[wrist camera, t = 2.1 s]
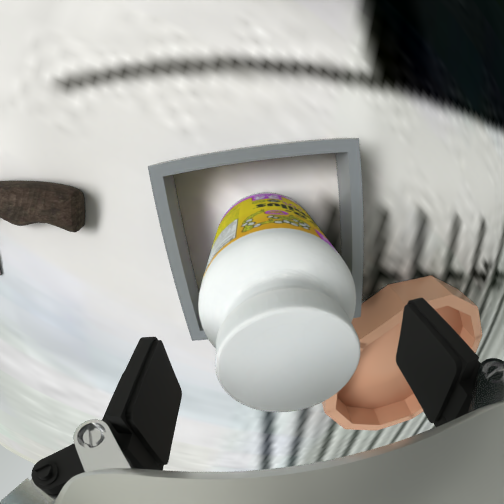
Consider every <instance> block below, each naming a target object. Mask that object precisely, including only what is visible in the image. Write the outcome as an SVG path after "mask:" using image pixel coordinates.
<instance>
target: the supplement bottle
mask: <svg viewBox="0 0 504 504" xmlns="http://www.w3.org/2000/svg"><path fill="white" fill-rule="evenodd" d="M355 306H356V290H355V284H354V280H353V277H352V275H351V272H350V270H349V268H348V266H347V265H346V263H345V261H344V260H343V259H342V257H341V256H340V255H339V253H338V252H337V251H336V250H335V248H334V247H333V246H332V244H331V243H330V242H329V240H328V239H327V238H326V237H325V235H324V234H323V233H322V231H321V230H320V229H319V228H318V226H317V225H316V224H315V223H314V221H313V220H312V219H311V217H310V216H309V215H308V214H307V212H306V211H305V210H304V209H303V208H302V207H301V206H300V205H299V204H298V203H296V202H295V201H293V200H292V199H290V198H288V197H286V196H283V195H280V194H276V193H257V194H253V195H250V196H247V197H245V198H243V199H241V200H239V201H238V202H236V203H235V204H234V205H233V206H232V207H231V208H230V209H229V210H228V211H227V212H226V214H225V215H224V217H223V218H222V220H221V222H220V224H219V227H218V230H217V233H216V236H215V239H214V243H213V246H212V249H211V253H210V256H209V260H208V263H207V266H206V270H205V273H204V276H203V280H202V284H201V288H200V292H199V302H198V307H199V316H200V321H201V324H202V327H203V329H204V332H205V334H206V336H207V337H208V339H209V341H210V342H211V343H212V345H213V346H214V347H215V348H216V357H215V370H216V375H217V378H218V380H219V382H220V384H221V386H222V387H223V389H224V390H225V391H226V392H227V394H228V395H230V396H231V397H232V398H233V399H235V400H236V401H238V402H240V403H241V404H243V405H246V406H248V407H250V408H253V409H257V410H261V411H268V412H290V411H297V410H301V409H305V408H309V407H312V406H314V405H317V404H319V403H321V402H323V401H325V400H327V399H329V398H330V397H332V396H333V395H335V394H336V393H337V392H338V391H339V390H341V389H342V388H343V387H344V386H345V385H346V384H347V382H348V381H349V380H350V378H351V377H352V375H353V374H354V372H355V370H356V368H357V366H358V363H359V359H360V342H359V338H358V335H357V333H356V331H355V329H354V327H353V325H352V323H351V322H352V320H353V316H354V313H355Z"/></svg>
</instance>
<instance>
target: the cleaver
mask: <svg viewBox="0 0 504 504" xmlns="http://www.w3.org/2000/svg"><path fill="white" fill-rule="evenodd" d="M0 218H2V219H4V220H6V221H8V222H10V223H12V224H15V225H18V226H23V225H29V224H33V223H38V222H39V223H48V224H51V225H54V226H57V227H60V228H62V229H65V230H67V231H71V232H77V231H79V230H80V229H81V228H82V227H83V226H84V222H85V205H84V196H83V193H82V192H81V191H80V190H79V189H77V188H74V187H72V186H67V185H63V184H56V183H50V182H39V181H0ZM0 275H1V270H0Z"/></svg>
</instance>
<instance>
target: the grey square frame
mask: <svg viewBox="0 0 504 504" xmlns="http://www.w3.org/2000/svg"><path fill="white" fill-rule="evenodd" d="M324 153H336V163H337V175H338V188H339V204H340V224H341V257H342V259H343V260H344V261H345V263H346V265H347V266H348V268H349V270H350V272H351V275H352V277H353V280H354V284H355V290H356V306H355V313H354V316H353V318H358V317H361V306H362V287H363V252H364V228H363V192H362V174H361V160H360V148H359V138H336V139H320V140H307V141H296V142H286V143H276V144H268V145H260V146H252V147H245V148H238V149H231V150H225V151H219V152H213V153H207V154H201V155H196V156H191V157H185V158H180V159H175V160H171V161H166V162H161V163H157V164H154V165H151V166H148V170H149V175H150V180H151V185H152V190H153V195H154V200H155V204H156V209H157V213H158V218H159V222H160V227H161V231H162V235H163V239H164V243H165V247H166V251H167V255H168V259H169V263H170V267H171V271H172V274H173V278H174V282H175V285H176V289H177V292H178V296H179V299H180V303H181V306H182V309H183V313H184V316H185V319H186V323H187V326H188V329H189V332H190V335H191V338H192V341H193V340H205V339H208V337H207V336H206V334H205V332H204V329H203V327H202V324H201V321H200V316H199V307H198V302H199V291H198V287H197V283H196V279H195V275H194V271H193V267H192V262H191V258H190V254H189V249H188V245H187V240H186V236H185V231H184V227H183V222H182V217H181V212H180V208H179V203H178V198H177V192H176V187H175V182H174V177H173V174H178V173H183V172H189V171H194V170H200V169H205V168H211V167H217V166H223V165H230V164H236V163H243V162H250V161H258V160H266V159H274V158H282V157H292V156H302V155H312V154H324Z"/></svg>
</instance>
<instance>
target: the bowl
mask: <svg viewBox="0 0 504 504" xmlns="http://www.w3.org/2000/svg"><path fill="white" fill-rule="evenodd" d="M417 298H424V299H425V300H426V301H427V302H428V303H429V304H430V305H431V306H432V307H433V308H434V309H435V310H436V311H437V312H438V313H439V315H440V316H441V317H442V318H443V319H444V320H445V321H446V322H447V323H448V324H449V325H450V326H451V327H452V328H453V329H454V330H455V331H456V332H457V334H458V335H459V336H460V337H461V338H462V339H463V340H464V341H465V342H466V343H467V345H468V346H469V347H470V348H471V349H472V350H473V351H474V352H475V353H476V351H477V348H478V345H479V343H480V340H481V337H482V329H481V323H480V317H479V311H478V307H477V306H476V305H475V304H474V303H473V302H472V301H471V300H469V299H468V298H467V297H466V296H465V295H464V294H463V293H462V292H461V291H459V290H458V289H456V288H455V287H453V286H451V285H449V284H447V283H445V282H443V281H441V280H439V279H437V278H435V277H433V276H426V277H422V278H417V279H413V280H408V281H403V282H398V283H393V284H388V285H387V286H386V287H384V288H383V289H382V290H380V291H379V292H377V293H376V294H375V295H373V296H372V297H371V298H369V299H368V300H366V301H365V302H364V303H362V306H361V317H358V318H353V320H352V322H351V323H352V325H353V327H354V329H355V331H356V333H357V335H358V338H359V342H360V359H359V363H358V366H357V368H356V370H355V372H354V374H353V375H352V377H351V378H350V380H349V381H348V382H347V384H346V385H345V386H344V387H343V388H342V389H341V390H339V391H338V392H337V393H336V394H335V395H333V396H332V397H330V398H329V399H327V400H325V401H323V402H322V404H323V408H324V411H325V413H326V414H327V415H328V416H329V417H331V418H332V419H333V420H334V421H336V422H337V423H338V424H339V425H341V426H342V427H343V428H344V429H355V430H379V429H383V428H386V427H389V426H392V425H395V424H398V423H401V422H404V421H407V420H410V419H412V418H414V417H415V416H417V415H419V414H420V413H422V412H423V409H422V407H421V405H420V404H419V402H418V400H417V398H416V396H415V395H414V393H413V391H412V389H411V388H410V386H409V384H408V383H407V381H406V379H405V377H404V376H403V374H402V372H401V371H400V369H399V367H398V366H397V363H396V353H397V348H398V343H399V337H400V331H401V325H402V318H403V311H404V306H405V305H407V303H408V301H409V300H413V299H417Z"/></svg>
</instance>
